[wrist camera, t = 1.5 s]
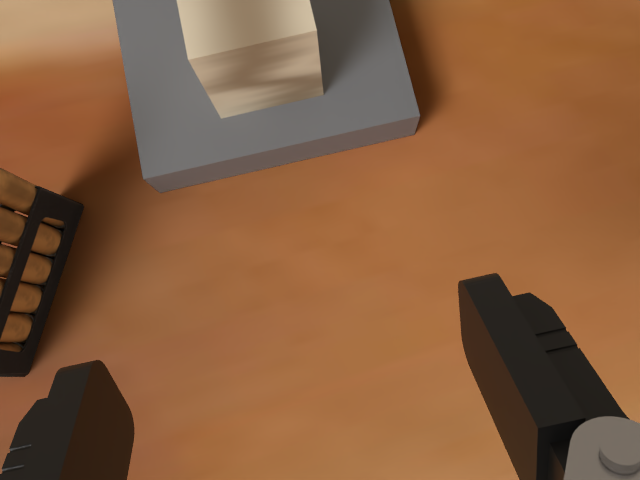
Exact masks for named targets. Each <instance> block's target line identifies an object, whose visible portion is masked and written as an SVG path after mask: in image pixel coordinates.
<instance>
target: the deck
mask: <svg viewBox="0 0 640 480" xmlns="http://www.w3.org/2000/svg"><path fill="white" fill-rule="evenodd" d="M310 4H311V8H312V12H313V16H314V21H315V25H316V29H317V37H318V46H319V56H320V65H321V74H322V84H323V93H324V95H322V96H317V97H313V98H309V99H304V100H300V101H296V102H291V103H287V104H282V105H278V106H274V107H269V108H265V109H261V110H256V111H252V112H248V113H243V114H239V115H235V116H230V117H226V118H222V119H221V117H220V115H219V114H218V112H217V110H216V108H215V107H214V105H213V103H212V101H211V100H210V98H209V96H208V94H207V92H206V91H205V89H204V87H203V85H202V84H201V82H200V80H199V78H198V77H197V75H196V73H195V71H194V69H193V68H192V66H191V64H190V62H189V61H188V57H187V52H186V47H185V41H184V36H183V31H182V26H181V21H180V16H179V10H178V5H177V0H113V6H114V11H115V17H116V23H117V29H118V35H119V41H120V47H121V52H122V58H123V64H124V70H125V76H126V82H127V87H128V93H129V99H130V105H131V111H132V117H133V123H134V128H135V134H136V140H137V146H138V152H139V158H140V164H141V169H142V175H143V179H144V180H145V181H146V182H147V183H148V184H150V185H151V186H152V187H153V188H155V189H156V190H157V191H158V192H160V193H162V192H166V191H170V190H175V189H179V188H184V187H188V186H192V185H197V184H201V183H205V182H210V181H214V180H219V179H223V178H227V177H232V176H236V175H240V174H245V173H249V172H253V171H258V170H262V169H267V168H271V167H275V166H280V165H284V164H288V163H293V162H297V161H302V160H306V159H310V158H315V157H319V156H323V155H328V154H332V153H336V152H341V151H345V150H350V149H354V148H358V147H363V146H367V145H371V144H376V143H380V142H385V141H389V140H393V139H398V138H402V137H406V136H411V135H415V131H416V128H417V125H418V121H419V118H420V113H419V109H418V106H417V102H416V98H415V94H414V91H413V87H412V83H411V80H410V76H409V72H408V68H407V65H406V61H405V57H404V54H403V50H402V46H401V43H400V39H399V35H398V31H397V28H396V24H395V20H394V17H393V13H392V9H391V5H390V2H389V0H310Z"/></svg>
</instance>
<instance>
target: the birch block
mask: <svg viewBox="0 0 640 480" xmlns="http://www.w3.org/2000/svg"><path fill="white" fill-rule="evenodd" d="M177 5H178V10H179V16H180V21H181V26H182V31H183V36H184V41H185V47H186V52H187V57H188V61H189V62H190V64H191V66H192V68H193V69H194V71H195V73H196V75H197V77H198V78H199V80H200V82H201V84H202V85H203V87H204V89H205V91H206V92H207V94H208V96H209V98H210V100H211V101H212V103H213V105H214V107H215V108H216V110H217V112H218V114H219V115H220V117H221V119H222V118H226V117H230V116H235V115H239V114H243V113H248V112H252V111H256V110H261V109H265V108H269V107H274V106H278V105H282V104H287V103H291V102H296V101H300V100H304V99H309V98H313V97H317V96H322V95H324V93H323V84H322V74H321V65H320V56H319V46H318V37H317V29H316V25H315V21H314V16H313V12H312V8H311V4H310V0H177Z"/></svg>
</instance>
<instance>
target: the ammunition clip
mask: <svg viewBox="0 0 640 480" xmlns="http://www.w3.org/2000/svg"><path fill="white" fill-rule="evenodd" d="M83 208H84V206H83V204H81V203H78V202H76V201H73V200H71V199H69V198H66V197H64V196H61V195H59V194H56V193H54V192H51V191H49V190H47V189H44V188H42V187H39V186H36V185H34V184H32V183H30V182H28V181H26V180H24V179H22V178H20V177H18V176H16V175H14V174H12V173H10V172H8V171H6V170H4V169H1V168H0V277H4V278H7V279H1V278H0V377H25V376H26V375H27V374H28V373H29V370H30V367H31V364H32V361H33V358H34V355H35V352H36V349H37V346H38V343H39V340H40V337H41V334H42V331H43V328H44V325H45V322H46V319H47V316H48V313H49V310H50V307H51V304H52V301H53V298H54V295H55V292H56V289H57V286H58V283H59V280H60V277H61V274H62V271H63V268H64V265H65V262H66V259H67V256H68V253H69V250H70V247H71V244H72V241H73V238H74V235H75V232H76V229H77V226H78V223H79V220H80V217H81V214H82V211H83ZM16 210H17V211H19V212H21V213H24V214H26V215H28V217H25V216H23V215H20V214H17V213H15V212H14V211H16ZM1 242H5V243H8V244H11V245H14V246H18V247H17V248H13V247H10V246H6V245H3V244H1Z"/></svg>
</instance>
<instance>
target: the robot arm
mask: <svg viewBox="0 0 640 480" xmlns="http://www.w3.org/2000/svg"><path fill="white" fill-rule="evenodd" d="M458 293H459V307H460V321H461V335H462V342H463V347H464V351H465V355H466V358H467V361H468V364H469V366H470V369H471V371H472V373H473V376H474V378H475V380H476V382H477V385H478V387H479V389H480V391H481V394H482V396H483V398H484V400H485V403H486V405H487V407H488V409H489V412H490V414H491V416H492V418H493V421H494V423H495V425H496V427H497V430H498V432H499V434H500V437H501V439H502V441H503V443H504V446H505V448H506V450H507V452H508V455H509V457H510V459H511V461H512V464H513V466H514V468H515V470H516V473H517V475H518V477H519V479H520V480H640V423H637V422H635V421H632V420H630V419H629V418H628V417H627V416H626V415H625V414H624V412H623V411H622V410H621V408H620V407H619V405H618V404H617V403H616V401H615V400H614V398H613V397H612V395H611V394H610V392H609V391H608V389H607V388H606V386H605V385H604V383H603V382H602V380H601V379H600V377H599V376H598V374H597V373H596V372H595V370H594V369H593V367H592V366H591V364H590V363H589V361H588V360H587V358H586V357H585V355H584V354H583V352H582V351H581V349H580V348H579V349H578V347H577V344H576V342H575V341H574V339H573V338H572V336H571V335H570V333H569V332H567V331H566V327H565V326H564V324H563V323H562V321H561V320H560V318H559V317H558V316H557V314H556V313H555V311H554V310H553V308H552V307H551V306H549V305H548V304H546V303H545V302H543V301H542V300H540V299H539V298H537V297H536V296H534V295H533V294H531V293H525V294H521V295H516V296H512V295H511V294H510V292H509V290H508V289H507V287H506V286H505V284H504V282H503V281H502V279H501V277H500V276H499V275H498V274H497V273H493V274H489V275H484V276H480V277H475V278H471V279H466V280H462V281H459V283H458ZM133 442H134V422H133V417H132V413H131V411H130V408H129V406H128V404H127V403H126V401H125V399H124V397H123V396H122V394H121V392H120V390H119V389H118V387H117V385H116V383H115V382H114V380H113V378H112V376H111V375H110V373H109V371H108V369H107V368H106V366H105V365H104V363H103V362H102V361H100V360H95V361H90V362H86V363H81V364H77V365H72V366H68V367H63V368H61V369H59V370H58V371H57V373H56V375H55V378H54V381H53V384H52V387H51V389H50V392H49V395H48V398H44V399H40V400H37V401H36V402H35V404H34V405H33V406H32V408H31V409H30V410H29V411H28V413H27V414H26V415H25V417H24V418H23V419H22V420H21V422H20V423H19V425H18V427H17V430H16V433H15V435H14V438H13V440H12V443H11V446H10V448H9V449H10V453H8V454H7V456H6V459H5V461H4V464H3V467H2V474H0V480H127V475H128V470H129V464H130V458H131V453H132V447H133Z"/></svg>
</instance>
